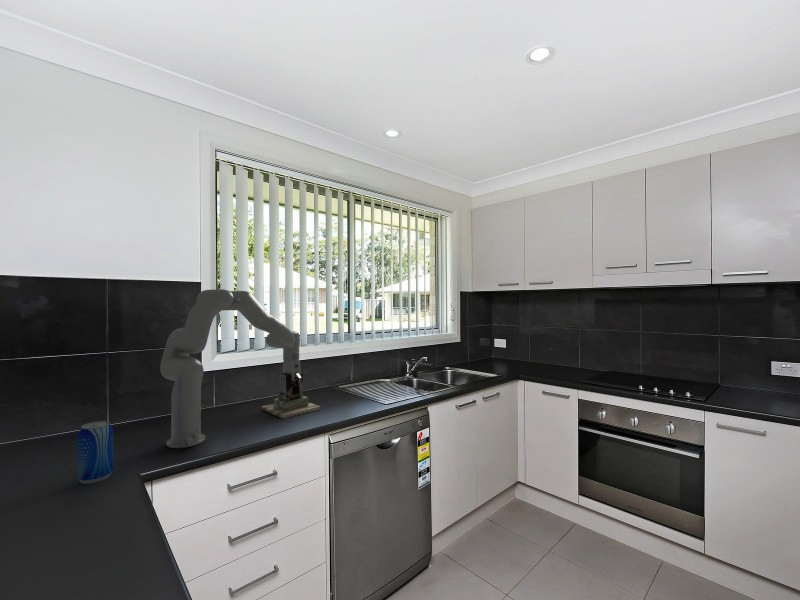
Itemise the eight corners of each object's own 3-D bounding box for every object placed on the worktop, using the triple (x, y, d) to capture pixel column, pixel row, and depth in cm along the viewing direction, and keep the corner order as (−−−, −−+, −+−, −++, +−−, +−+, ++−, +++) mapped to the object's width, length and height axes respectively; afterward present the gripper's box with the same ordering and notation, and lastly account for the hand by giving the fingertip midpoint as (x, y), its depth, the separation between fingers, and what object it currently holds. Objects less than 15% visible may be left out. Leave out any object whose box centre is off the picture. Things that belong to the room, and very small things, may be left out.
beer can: (71, 481, 110) (71, 426, 110) (104, 469, 117) (104, 418, 117) (85, 487, 106) (85, 431, 106) (118, 475, 113) (119, 422, 113)
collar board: (320, 409, 183) (320, 398, 183) (282, 418, 168) (282, 406, 168) (298, 401, 197) (298, 391, 197) (261, 409, 182) (261, 398, 182)
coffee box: (286, 409, 177) (287, 375, 176) (278, 406, 181) (279, 373, 181) (302, 405, 184) (303, 372, 183) (294, 403, 188) (295, 370, 188)
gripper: (307, 357, 179) (307, 394, 179) (289, 354, 191) (288, 388, 191) (293, 359, 174) (293, 397, 174) (275, 355, 186) (275, 390, 186)
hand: (291, 392), depth 182 cm, fingers open, 8 cm apart
